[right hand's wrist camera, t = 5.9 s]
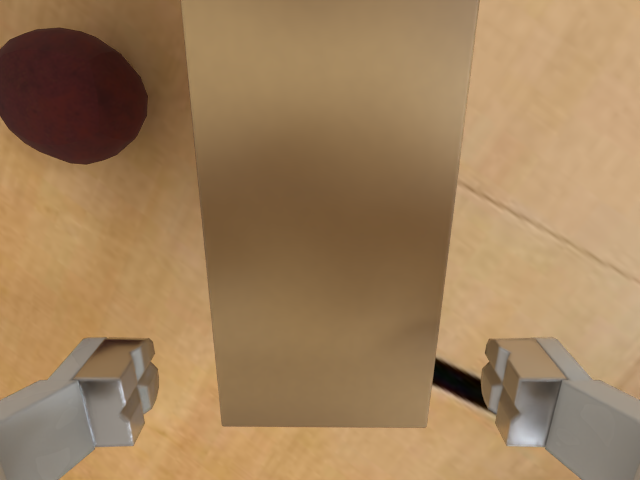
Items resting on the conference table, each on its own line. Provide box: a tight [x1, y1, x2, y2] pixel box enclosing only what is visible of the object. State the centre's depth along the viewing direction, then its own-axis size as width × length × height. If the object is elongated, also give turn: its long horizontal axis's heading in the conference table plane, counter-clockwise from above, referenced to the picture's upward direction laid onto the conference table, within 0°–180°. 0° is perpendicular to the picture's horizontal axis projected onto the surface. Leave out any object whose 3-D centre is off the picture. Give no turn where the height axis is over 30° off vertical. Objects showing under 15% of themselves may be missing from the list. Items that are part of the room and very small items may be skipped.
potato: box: [0, 28, 148, 164], centre depth 25 cm, size 7×8×7 cm
